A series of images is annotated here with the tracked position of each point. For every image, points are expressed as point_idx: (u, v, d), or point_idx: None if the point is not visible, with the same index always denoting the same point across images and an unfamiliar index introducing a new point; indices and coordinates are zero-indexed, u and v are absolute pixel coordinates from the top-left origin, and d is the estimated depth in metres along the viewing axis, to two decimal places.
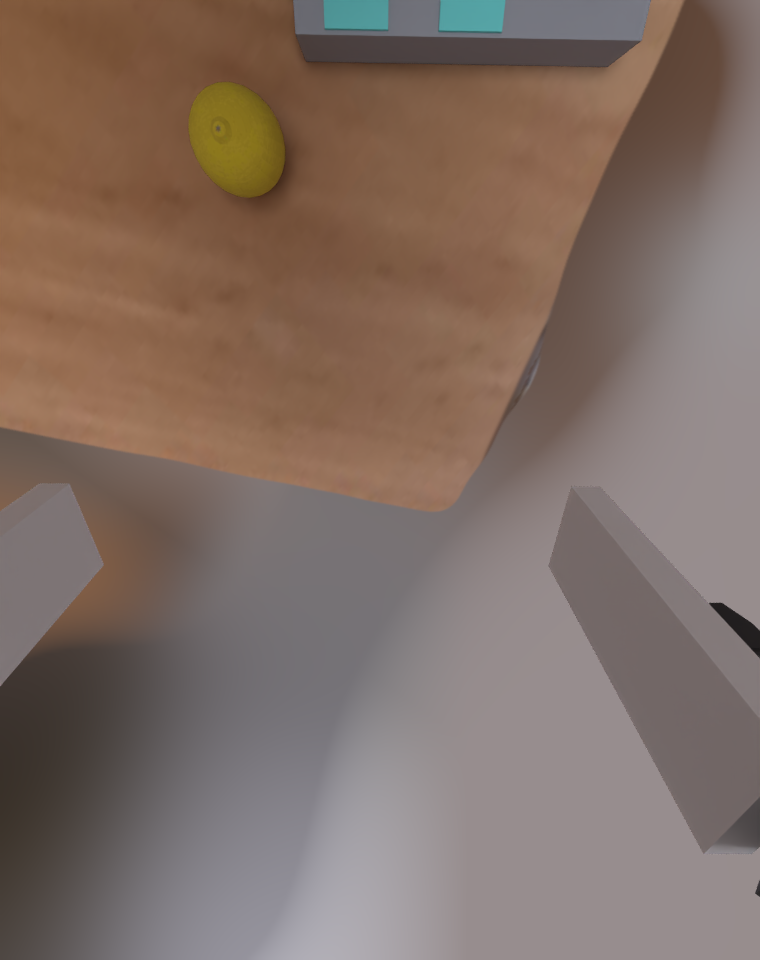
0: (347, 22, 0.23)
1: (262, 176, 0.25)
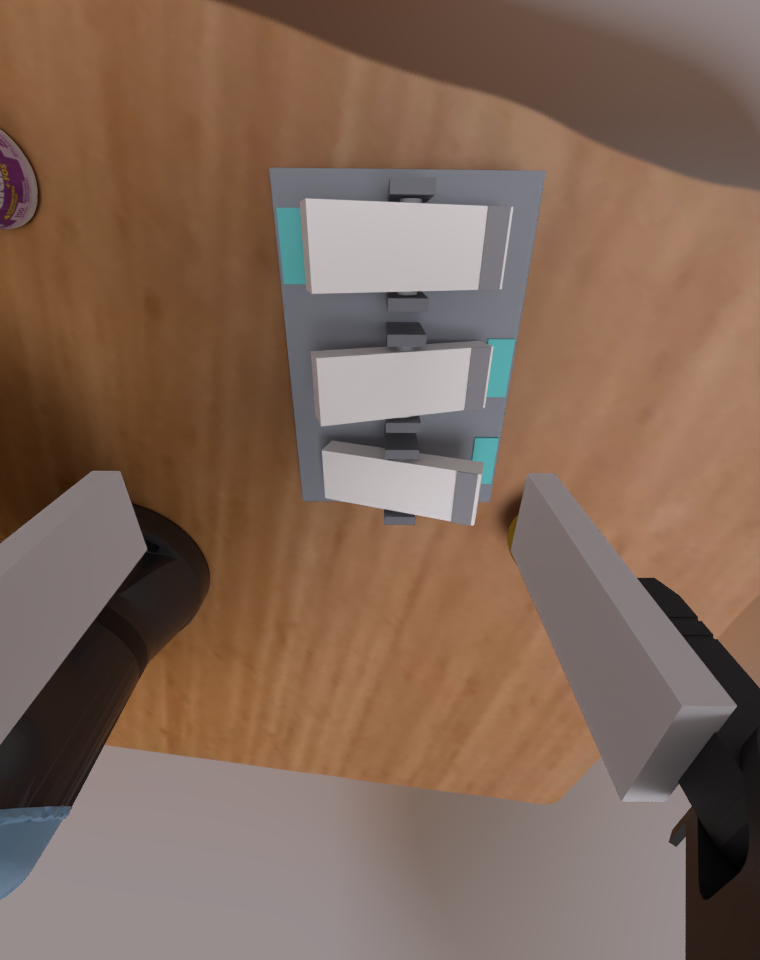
0: (488, 467, 0.29)
1: None
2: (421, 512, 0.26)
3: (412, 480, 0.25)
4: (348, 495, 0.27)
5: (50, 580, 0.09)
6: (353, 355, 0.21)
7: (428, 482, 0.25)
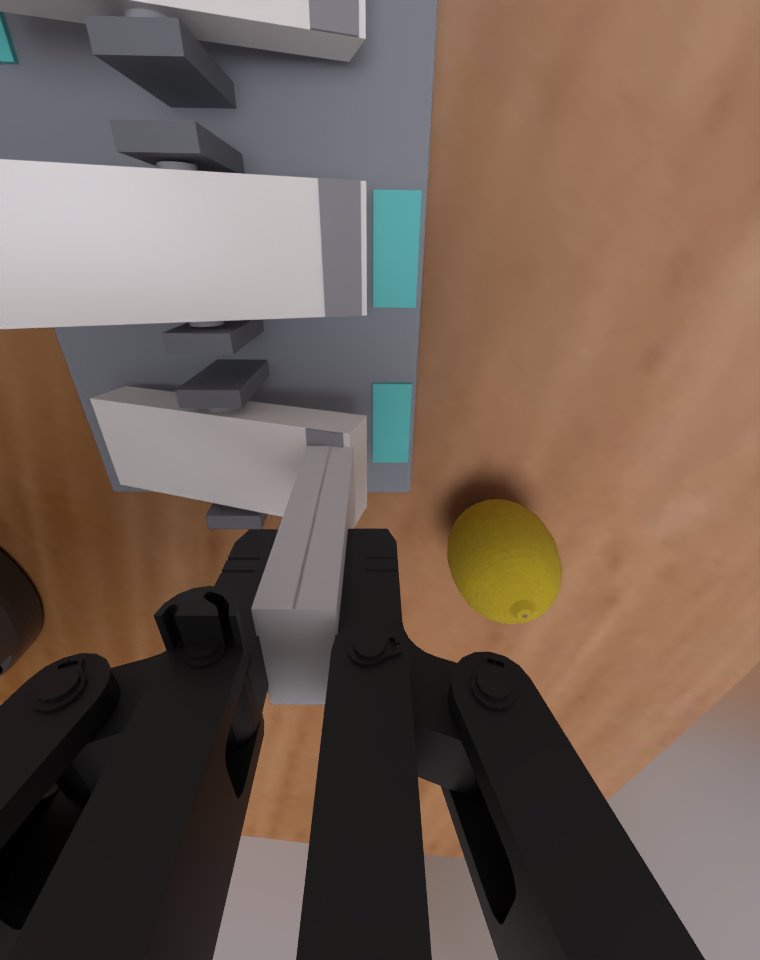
0: (401, 434, 0.18)
1: (555, 555, 0.19)
2: (265, 507, 0.15)
3: (238, 449, 0.14)
4: (151, 479, 0.16)
5: None
6: (32, 162, 0.10)
7: (265, 451, 0.14)
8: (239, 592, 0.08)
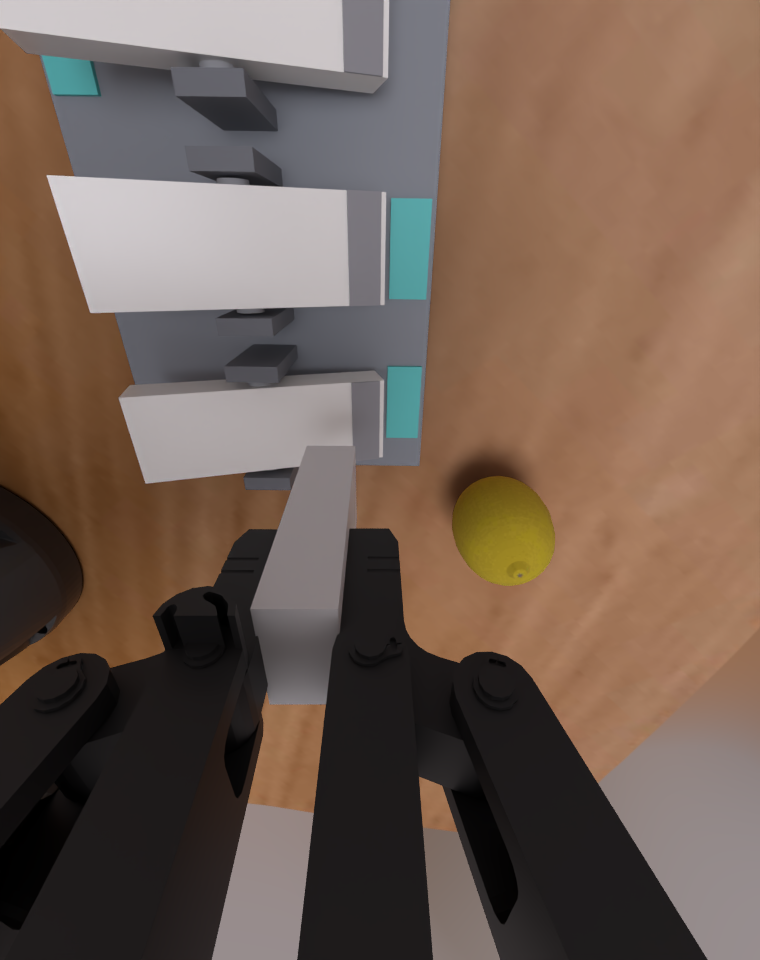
0: (412, 413, 0.20)
1: (548, 523, 0.21)
2: None
3: (289, 413, 0.17)
4: (188, 466, 0.17)
5: None
6: (124, 180, 0.12)
7: (314, 409, 0.17)
8: (238, 592, 0.08)
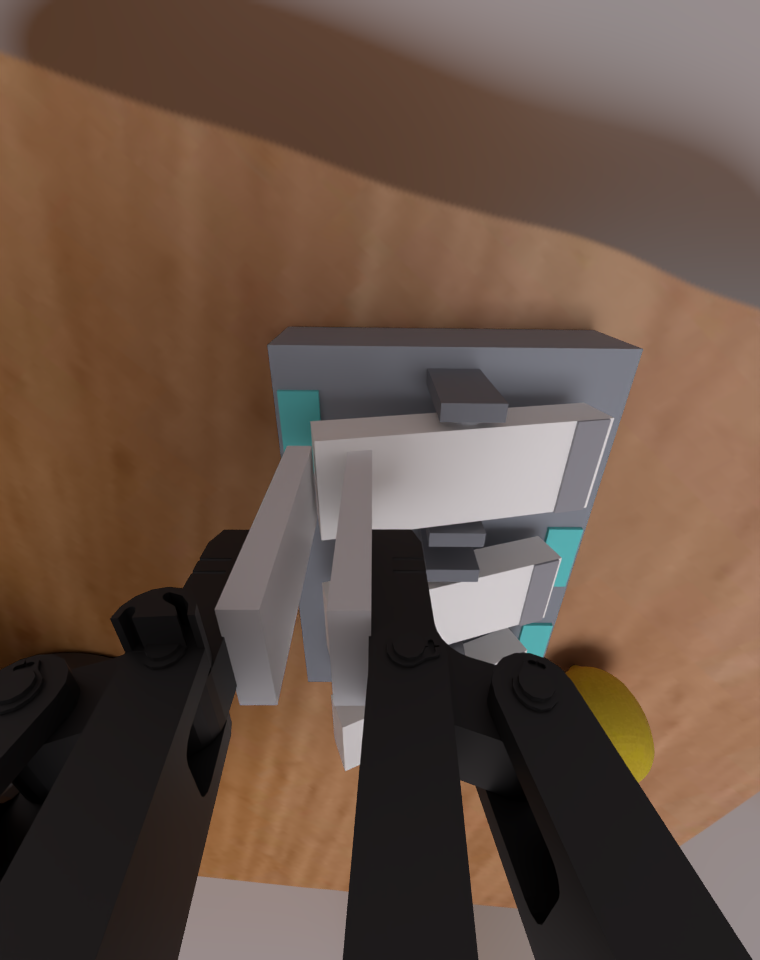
0: (537, 650, 0.24)
1: (650, 734, 0.25)
2: None
3: None
4: None
5: (295, 533, 0.10)
6: None
7: None
8: (208, 593, 0.08)
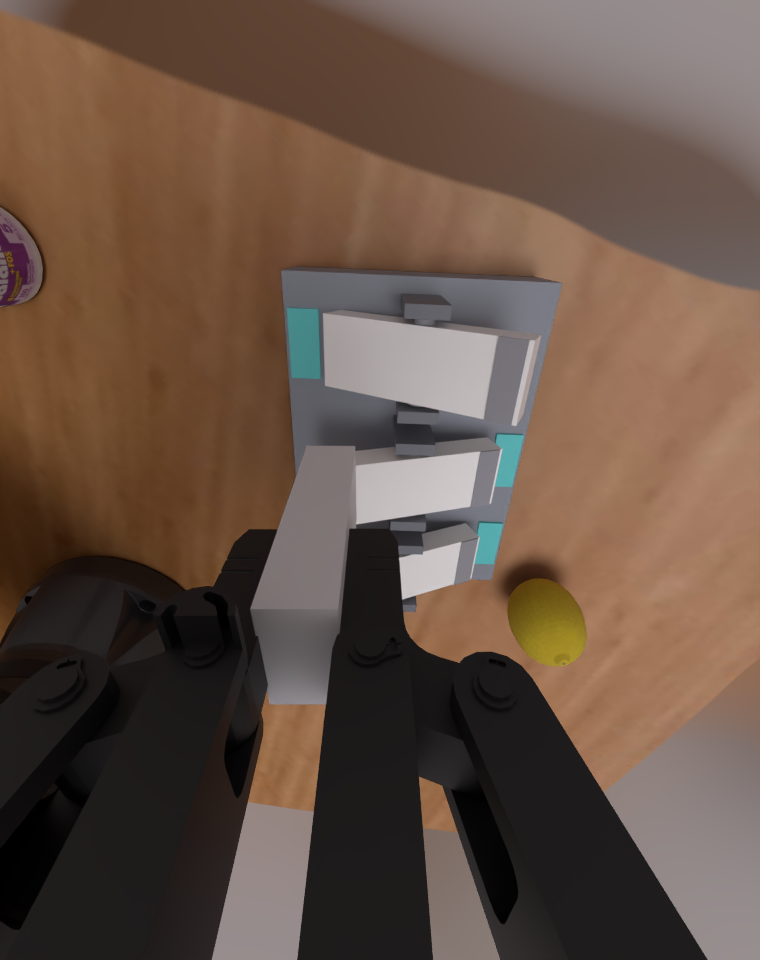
0: (491, 548, 0.29)
1: (583, 624, 0.30)
2: (429, 588, 0.27)
3: (423, 565, 0.25)
4: None
5: None
6: (360, 464, 0.20)
7: (437, 560, 0.26)
8: (238, 592, 0.08)
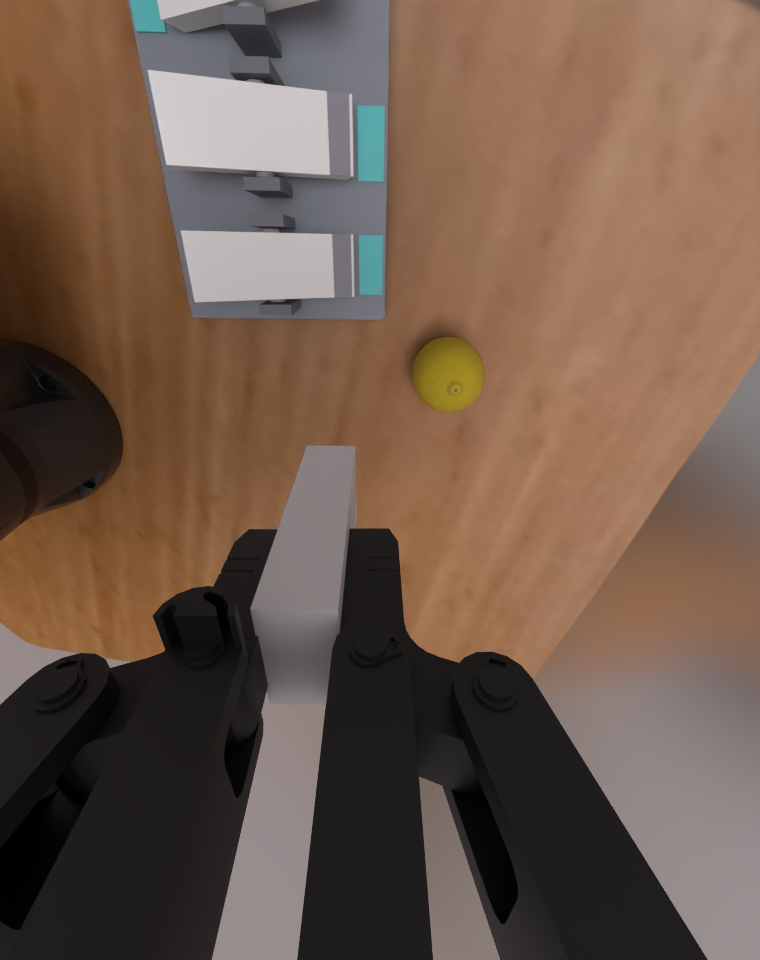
0: (378, 274, 0.28)
1: (478, 359, 0.30)
2: (305, 294, 0.26)
3: (291, 254, 0.25)
4: (223, 291, 0.24)
5: None
6: (191, 76, 0.20)
7: (308, 253, 0.25)
8: (238, 592, 0.08)
